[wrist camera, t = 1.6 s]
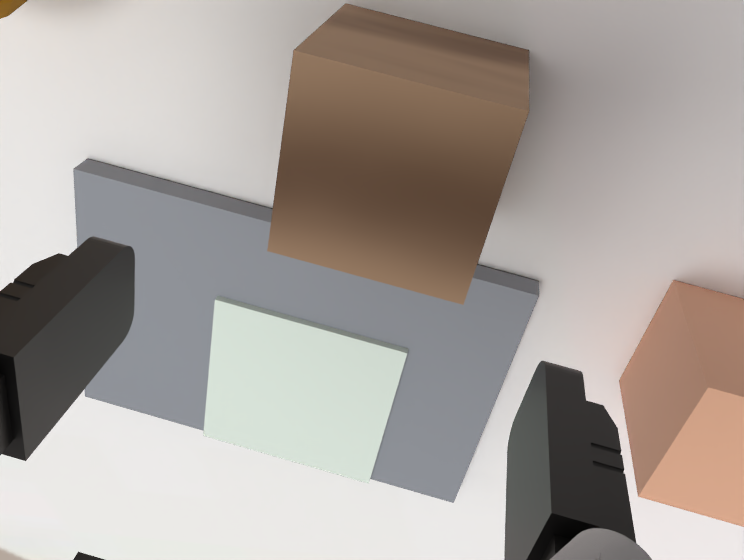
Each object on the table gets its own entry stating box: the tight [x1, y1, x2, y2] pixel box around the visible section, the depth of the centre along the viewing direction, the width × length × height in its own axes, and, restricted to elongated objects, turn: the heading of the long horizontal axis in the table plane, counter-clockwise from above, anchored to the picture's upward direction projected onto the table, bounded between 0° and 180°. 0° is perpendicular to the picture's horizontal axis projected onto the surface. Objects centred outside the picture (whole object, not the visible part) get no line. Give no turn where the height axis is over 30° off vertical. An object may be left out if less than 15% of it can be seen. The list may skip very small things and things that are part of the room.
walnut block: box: [267, 4, 529, 305], centre depth 21 cm, size 6×6×6 cm
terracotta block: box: [619, 280, 744, 527], centre depth 24 cm, size 5×5×6 cm
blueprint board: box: [73, 159, 539, 503], centre depth 29 cm, size 12×18×1 cm, turn 79°
